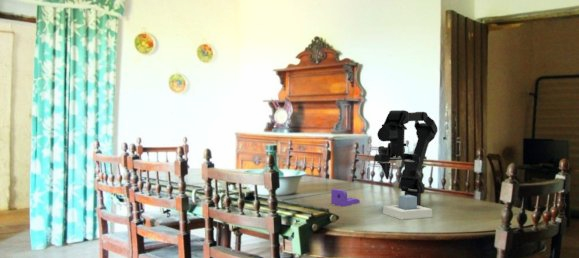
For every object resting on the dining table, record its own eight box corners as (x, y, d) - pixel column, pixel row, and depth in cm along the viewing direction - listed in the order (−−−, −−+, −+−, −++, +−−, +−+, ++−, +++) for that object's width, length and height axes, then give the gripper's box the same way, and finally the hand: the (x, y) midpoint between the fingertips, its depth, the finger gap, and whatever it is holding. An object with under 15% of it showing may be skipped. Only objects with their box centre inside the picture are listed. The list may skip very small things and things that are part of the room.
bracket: (344, 207, 198) (344, 191, 198) (331, 205, 203) (331, 189, 202) (359, 203, 207) (359, 188, 207) (346, 201, 212) (347, 186, 211)
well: (412, 211, 189) (412, 203, 189) (431, 217, 178) (432, 209, 178) (383, 213, 184) (383, 206, 184) (401, 219, 173) (401, 211, 172)
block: (408, 212, 184) (408, 194, 184) (416, 214, 179) (416, 196, 179) (398, 213, 182) (398, 195, 182) (406, 215, 177) (406, 197, 177)
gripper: (404, 139, 201) (403, 175, 201) (367, 140, 194) (366, 177, 194) (420, 141, 191) (419, 178, 191) (382, 141, 184) (381, 180, 184)
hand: (396, 178), depth 190 cm, fingers open, 9 cm apart
